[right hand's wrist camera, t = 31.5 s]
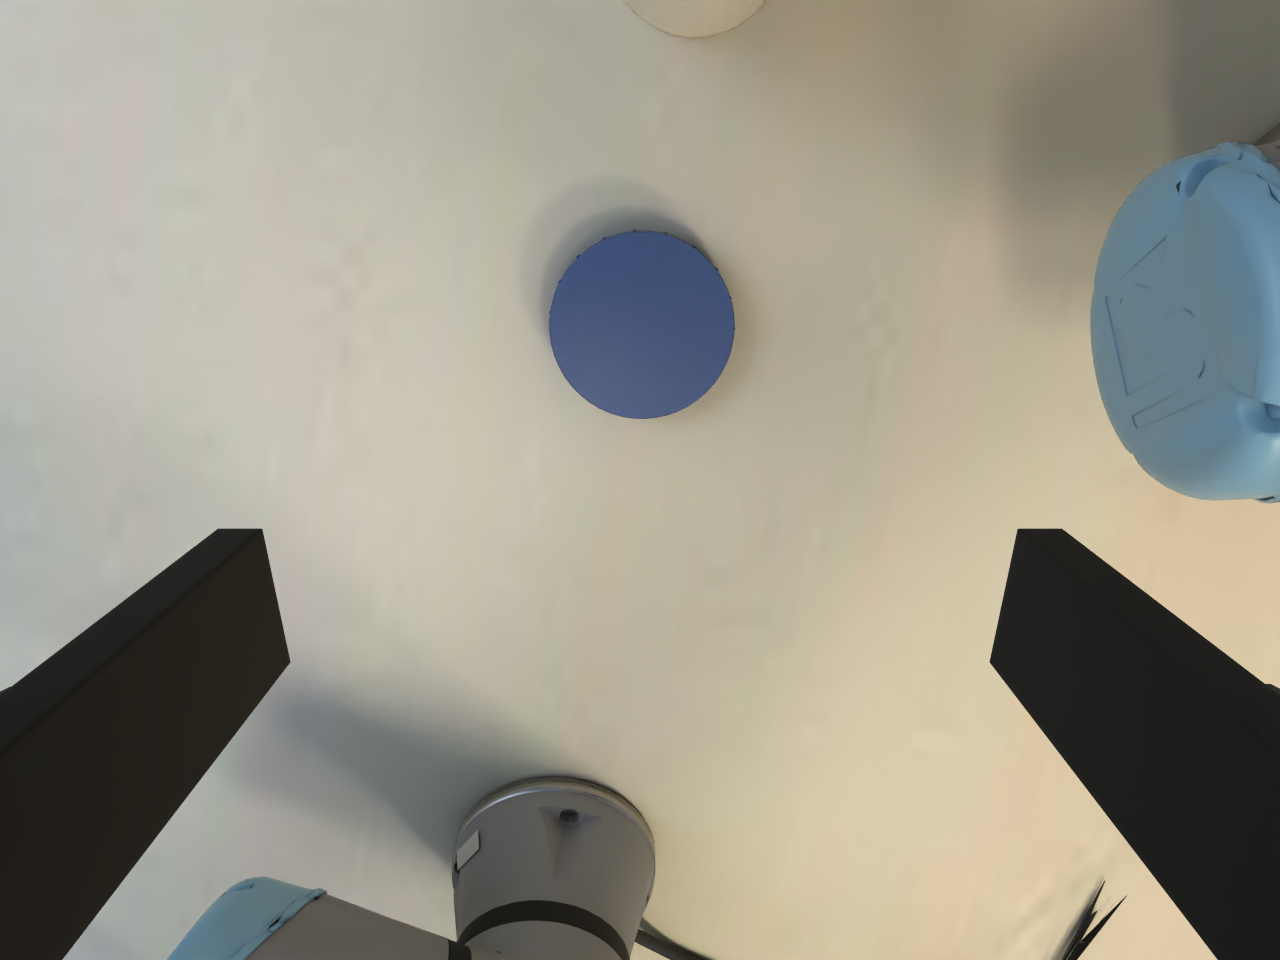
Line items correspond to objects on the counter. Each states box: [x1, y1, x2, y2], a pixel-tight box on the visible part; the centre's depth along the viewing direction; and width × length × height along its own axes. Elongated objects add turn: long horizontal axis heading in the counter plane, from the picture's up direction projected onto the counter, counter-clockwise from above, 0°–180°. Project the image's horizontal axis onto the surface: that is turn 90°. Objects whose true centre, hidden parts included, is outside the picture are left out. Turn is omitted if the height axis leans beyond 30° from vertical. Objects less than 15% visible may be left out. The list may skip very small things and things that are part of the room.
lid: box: [550, 229, 735, 419], centre depth 40 cm, size 10×10×2 cm
